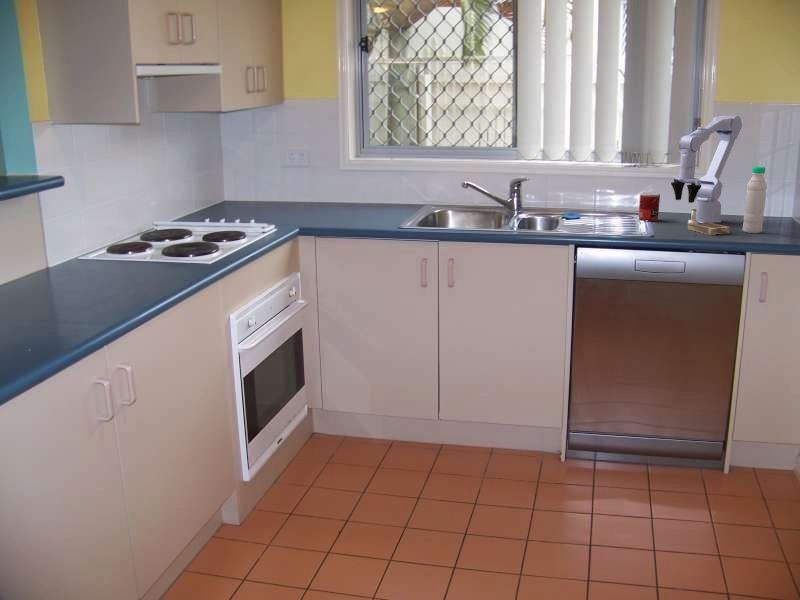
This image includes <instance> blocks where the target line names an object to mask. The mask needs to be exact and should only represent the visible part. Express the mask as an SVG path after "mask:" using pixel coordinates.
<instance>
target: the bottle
mask: <svg viewBox="0 0 800 600" xmlns="http://www.w3.org/2000/svg"><path fill="white" fill-rule="evenodd" d="M696 210H697V209H696V208H691V213H690V214H691V215H690V219H688V220H687V225H688V224H689V223H692V224H697V225H699V223H698V220H696Z"/></svg>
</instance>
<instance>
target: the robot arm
mask: <svg viewBox="0 0 800 600" xmlns="http://www.w3.org/2000/svg"><path fill="white" fill-rule="evenodd" d="M742 127H743V123H742V118H741V117H740V116H739V115H721V114H717V115H715V116H714V117H713V118H712V121H711V122H710V123H708V124H707V125H706V126H705V127H704V126H698V127H697V129H696V130H694V131H693V132H692V131H691V133H689V135H683V136H682V137H680V139H679V142H678V144H677V145H678V149H679V154H680V161H679V162H680V163H679V175H672V177H671V181H672V182H670V185H671V187H672V189H673V192H674V199H675V201H681V200H682V198H683V197H682V196H683V190H684V188H685V185H686V187H687V188H686V189H687V192H688V196H687V197H688V201H687V202H688V203H689V204H690V203H691V204H693V203H695V201H696V205H695V206H696V207H695V209H697V210H696V220H698V224H703V222H709V223H714V224H718V223H721V222H722V221H721V214H722V213H721V211H722V203H721V201H720V200H719V199H720V197H721V196H722V190H723V182H722V181H721V180H720V178H721V176H722V172H723V170H724V168H725V166H726V163H727V161H728V158H729V156H730V153H731V152H732V148H733V146H734V144H735V142H736V140H737V139H738V137H739V135H740V132H741V129H742ZM712 134H715V135H716V138H718V139H719V140H720V141H719V144H718V146H717V148H716V151H715V153H714V155H713V158H712V159H711V160H712V161H711V162H710V165H709V167H708V169H707V172H706V174H705V175H704V176H702V177H700V178H697V177H695V174H696V173H695V172H696V163H697V162H696V161H697V151H699V150H700V147H702V144H704V143H705V142H706V141H708V140H709V139H710V138H711V137H710V136H711V135H712Z"/></svg>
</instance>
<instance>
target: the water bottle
mask: <svg viewBox="0 0 800 600" xmlns="http://www.w3.org/2000/svg"><path fill="white" fill-rule="evenodd" d="M765 173H766V167H765V166H753V167H751V174H752V176H751V178H750V180H749V181H748V183H747V184H746V193H745V194H746V195H745V199H744V200H745V202H744V214H743V224H742V232H744V233H746V232H747V234H761V233H762V232H763V222H764V212H765V207H766V206H765V205H766V197H767V195H766V194H767V188H768V186H767V183H766V180H765V177H764V175H765Z"/></svg>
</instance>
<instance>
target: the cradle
mask: <svg viewBox="0 0 800 600" xmlns="http://www.w3.org/2000/svg"><path fill="white" fill-rule="evenodd" d="M690 230H692V231H691V232H694V231H696V232H695V233H698V232H700V233H699V234H703V233H704V234H703V235H707V234H708V236H717V235H716V234H720V235H726V234H725V233H729V234H730V230H731V227H730V226H727V225H722V224H719V223H709V222H703V223H702V224H698V225H697V224H692V223H689V224H688V223H687V231H690Z"/></svg>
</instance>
